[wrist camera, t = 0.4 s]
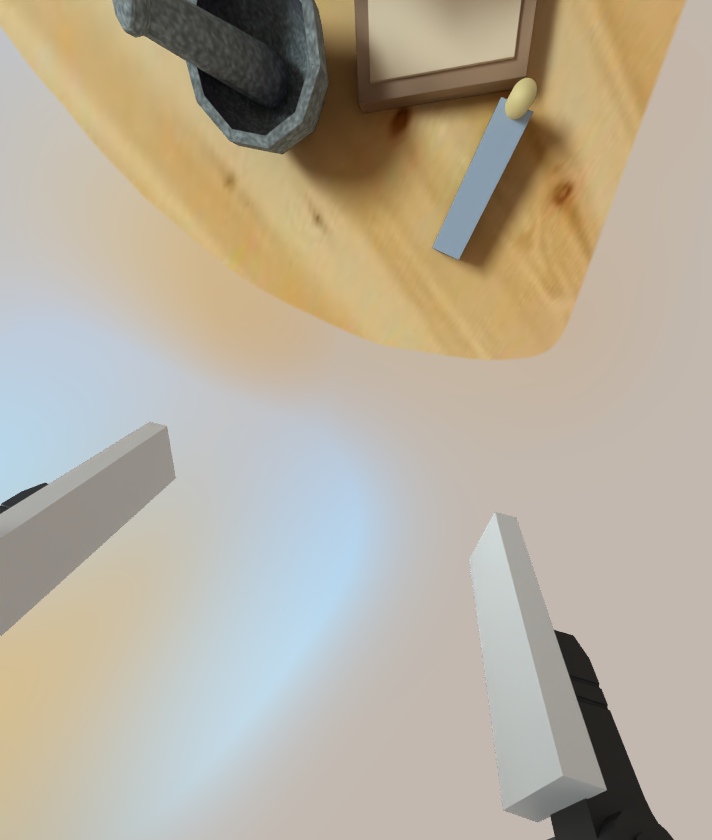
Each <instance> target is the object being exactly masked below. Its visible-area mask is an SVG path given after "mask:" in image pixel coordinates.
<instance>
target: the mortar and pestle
mask: <svg viewBox="0 0 712 840" xmlns="http://www.w3.org/2000/svg"><path fill="white" fill-rule="evenodd" d="M113 5H114V9H115V14H116V16H117V19H118V21H119V22H120V24H121V26H122V28H123V29H124V31H125V32H126V33H128V34H130V35H132V36H134V37H140V36H146V37H147V38H149V39H151V40H152V41H154V42H156V43H157V44H159V45H161V46H162V47H164V48H166V49H167V50H169V51H171V52H172V53H174V54H176V55H177V56H179V57H181V58H182V59H184V60H186V63H187V67H188V70H189V74H190V78H191V82H192V85H193V89H194V93H195V97H196V100H197V103H198V104H199V105H200V106H201V107H202V109H203V110H204V111H205V112H206V113H207V115H208V116H209V117H210V118H211V119H212V121H213V122H214V123H215V124H216V125H217V126H218V128H219V129H220V130H221V131H222V132H223V134H224V135H225V136H226V137H227V138H228V140H229V141H231V142H233V143H235V144H237V145H238V146H243V147H248V148H253V149H258V150H263V151H268V152H273V153H279V154H284V153H285V152H286V151H288V150H289V149H290V148H292V147H293V146H294V145H296V144H297V143H298V142H300V141H301V140H303V139H304V138H305V137H307V136H308V135H309V134H311V133H312V132H313V131H314V130H315V128H316V125H317V122H318V120H319V117H320V114H321V111H322V108H323V105H324V97H325V94H326V91H327V88H328V85H329V82H328V73H327V65H326V57H325V48H324V40H323V32H322V25H321V20H320V15H319V11H318V8H317V6H316V3H315V1H314V0H113Z"/></svg>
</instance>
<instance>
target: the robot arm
mask: <svg viewBox="0 0 712 840" xmlns="http://www.w3.org/2000/svg"><path fill="white" fill-rule="evenodd" d="M174 479H175V471H174V465H173V460H172V454H171V448H170V442H169V436H168V430H167V426H164V425H160V424H156V423H152V422H149V423H147V424H145V425H144V426H142V427H141V428H139V429H137V430H136V431H134V432H132V433H131V434H129V435H127V436H126V437H124V438H123V439H121V440H119V441H118V442H116V443H115V444H113V445H111V446H110V447H108V448H106V449H105V450H103V451H102V452H100V453H98V454H97V455H95V456H94V457H92V458H90V459H89V460H87V461H85V462H84V463H82V464H81V465H79V466H77V467H76V468H74V469H72V470H71V471H69V472H68V473H66V474H64V475H63V476H61V477H59V478H58V479H56V480H55V481H53V482H51V483H50V484H47V483H43V484H40V485H38V486H35V487H32V488H30V489H27V490H24V491H22V492H20V493H19V494H17V495H15V496H13V497H12V498H10V499H8V500H7V501H5V502H3V503H2V504H1V506H0V635H1V636H2V635H3V634H4V633H5V632H6V631H7V630H8V629H9V628H10V627H12V626H13V625H14V624H15V623H16V622H17V621H18V620H19V619H21V618H22V617H23V616H24V615H25V614H26V613H27V612H28V611H29V610H30V609H32V608H33V607H34V606H35V605H36V604H37V603H38V602H39V601H40V600H41V599H43V598H44V597H45V596H46V595H47V594H48V593H49V592H50V591H51V590H53V589H54V588H55V587H56V586H57V585H58V584H59V583H60V582H61V581H63V580H64V579H65V578H66V577H67V576H68V575H69V574H70V573H71V572H72V571H74V570H75V568H77V567H78V566H79V565H80V564H81V563H82V562H83V561H84V560H86V559H87V558H88V557H89V556H90V555H91V554H92V553H93V552H95V551H96V550H97V549H98V548H99V547H100V546H101V545H102V544H103V543H105V542H106V541H107V540H108V539H109V538H110V537H111V536H112V535H113V534H114V533H116V532H117V531H118V530H119V529H120V528H121V527H122V526H123V525H124V524H125V523H127V522H128V521H129V520H130V519H131V518H132V517H133V516H134V515H135V514H137V513H138V511H140V510H141V509H142V508H143V507H144V506H145V505H146V504H147V503H149V502H150V501H151V500H152V499H153V498H154V497H155V496H156V495H158V494H159V493H160V492H161V491H162V490H163V489H164V488H165V487H166V486H167V485H168V484H169V483H171V482H172V481H173V480H174ZM469 561H470V569H471V576H472V584H473V591H474V598H475V606H476V613H477V621H478V628H479V635H480V643H481V650H482V658H483V665H484V672H485V680H486V687H487V695H488V702H489V709H490V716H491V724H492V732H493V739H494V746H495V754H496V761H497V768H498V776H499V783H500V791H501V797H502V806H503V810H504V811H507V812H510V813H512V814H515V815H518V816H521V817H524V818H527V819H530V820H532V821H535V822H539V821H542V820H544V819H546V818H548V817H550V816H551V821H552V825H553V830H554V834H555V837H553V838H550V839H548V840H674V839H673V838H672V837H671V836H670V834H669V833H668V832H667V831H666V830H665V829H664V828H663V827H662V826H661V825H660V824H658V822H657V821H656V819H655V817H654V816H653V814H652V812H651V810H650V808H649V806H648V804H647V802H646V800H645V797H644V795H643V793H642V790H641V788H640V785H639V783H638V780H637V778H636V775H635V772H634V770H633V767H632V765H631V763H630V760H629V758H628V755H627V752H626V750H625V747H624V745H623V742H622V740H621V737H620V735H619V732H618V730H617V727H616V725H615V722H614V720H613V717H612V714H611V712H610V710H608V708H607V702H606V700H605V697H604V694H603V692H602V689H600V688H599V682H598V679H597V677H596V674H595V672H594V669H593V667H592V664H591V662H590V659H589V657H588V656H587V655H586V653H585V652H584V650H583V649H582V647H581V646H580V644H579V643H578V642H577V640H576V639H575V637H574V636H573V635H569V634H566V633H563V632H559V631H556V630H554V629H553V626H552V623H551V620H550V617H549V614H548V611H547V609H546V605H545V602H544V599H543V596H542V593H541V590H540V587H539V584H538V581H537V578H536V575H535V572H534V569H533V566H532V563H531V560H530V557H529V554H528V551H527V548H526V545H525V542H524V539H523V537H522V533H521V530H520V527H519V524H518V522H517V518H516V517H513V516H509V515H505V514H501V513H497V512H495V513H494V515H493V517H492V518H491V520H490V522H489V524H488V526H487V528H486V529H485V532H484V534H483V535H482V537H481V539H480V541H479V542H478V544H477V546H476V548H475V550H474V552H473V553H472V555H471V557H470V559H469Z"/></svg>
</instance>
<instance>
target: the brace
mask: <svg viewBox="0 0 712 840" xmlns="http://www.w3.org/2000/svg"><path fill="white" fill-rule="evenodd" d="M536 94H537V86H536V83H535V81H534V80H533V79H531V78H524V79H522V80H520V81H519V82H518V83H517V84H516V85H515V86H514V88H513V90H512V91H511V93H510V95H509V97H508V99H505V98H503V97H501V99H500V101H499V103H498V105H497V107H496V109H495V111H494V113H493V115H492V118H491V120H490V122H489V124H488V126H487V128H486V131H485V133H484V135H483V137H482V139H481V142H480V144H479V146H478V148H477V150H476V153H475V155H474V157H473V159H472V161H471V164H470V166H469V168H468V170H467V172H466V175H465V177H464V179H463V181H462V183H461V186H460V188H459V190H458V192H457V194H456V197H455V199H454V201H453V203H452V205H451V208H450V210H449V212H448V214H447V216H446V219H445V221H444V223H443V225H442V227H441V230H440V232H439V234H438V236H437V238H436V241H435V243H434V245H433V247H432V248H434V249H436V250H438V251H440V252H442V253H444V254H447V255H449V256H451V257H453V258H455V259H458V260H459V258H460V256H461V254H462V252H463V250H464V248H465V246H466V245H467V243H468V241H469V239H470V237H471V235H472V233H473V231H474V229H475V227H476V225H477V223H478V221H479V219H480V217H481V215H482V213H483V211H484V209H485V207H486V205H487V203H488V201H489V199H490V197H491V195H492V193H493V191H494V189H495V187H496V185H497V183H498V181H499V179H500V177H501V175H502V173H503V171H504V169H505V167H506V165H507V163H508V161H509V159H510V157H511V155H512V154H513V152H514V150H515V148H516V146H517V144H518V142H519V140H520V138H521V136H522V134H523V132H524V130H525V128H526V126H527V124H528V122H529V120H530V118H531V116H532V114H533V111H530V110H528V109H529V107H530V106H531V105H532V103H533V102H534V100H535V97H536Z"/></svg>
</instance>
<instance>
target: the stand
mask: <svg viewBox="0 0 712 840" xmlns="http://www.w3.org/2000/svg"><path fill="white" fill-rule="evenodd" d="M536 2H537V0H354V3H355V27H356V51H357V76H358V100H359V106H360V108H361V110H362V112H363V113H369V112H375V111H381V110H388V109H394V108H400V107H406V106H413V105H419V104H425V103H431V102H438V101H444V100H450V99H457V98H463V97H469V96H475V95H482V94H488V93H494V92H500V91H507V90H513V88H514V86H515V85H516V84H517V83H518V82H519V81H520V80H522V79H524V78H525V77H526V73H527V66H528V59H529V52H530V44H531V37H532V30H533V23H534V16H535V9H536Z"/></svg>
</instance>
